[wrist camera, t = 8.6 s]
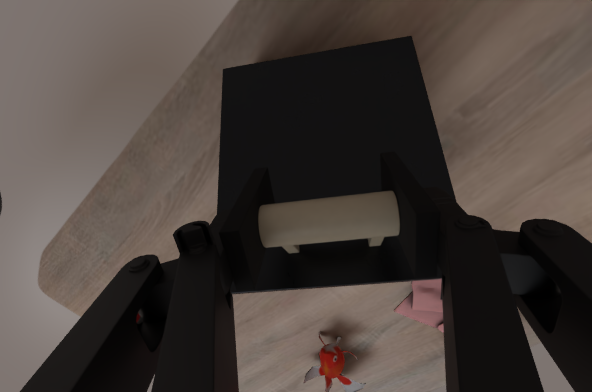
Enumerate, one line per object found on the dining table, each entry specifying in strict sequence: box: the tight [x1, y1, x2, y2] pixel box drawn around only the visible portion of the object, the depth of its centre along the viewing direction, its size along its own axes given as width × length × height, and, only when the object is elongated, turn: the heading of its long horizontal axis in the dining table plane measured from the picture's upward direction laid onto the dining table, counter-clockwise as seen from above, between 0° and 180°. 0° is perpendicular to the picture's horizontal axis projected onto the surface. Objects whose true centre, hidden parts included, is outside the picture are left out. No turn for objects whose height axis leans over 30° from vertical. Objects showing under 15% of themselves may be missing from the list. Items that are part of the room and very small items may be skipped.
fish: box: [304, 332, 366, 392], centre depth 55 cm, size 11×16×10 cm
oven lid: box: [217, 36, 457, 294], centre depth 19 cm, size 18×16×7 cm
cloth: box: [394, 279, 444, 333], centre depth 48 cm, size 20×22×2 cm
